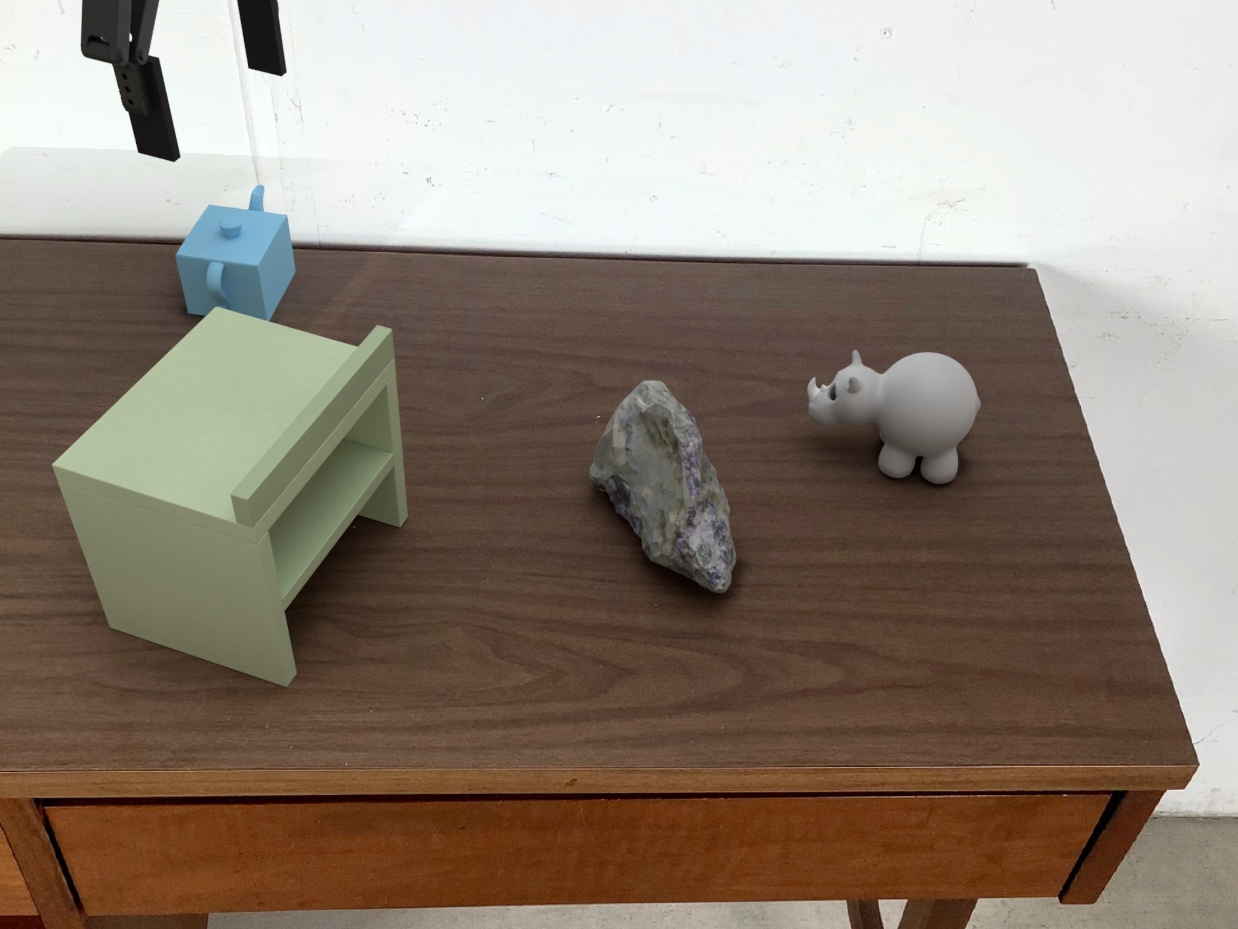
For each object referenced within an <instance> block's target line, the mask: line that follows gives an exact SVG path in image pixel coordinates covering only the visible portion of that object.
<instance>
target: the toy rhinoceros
mask: <svg viewBox="0 0 1238 929" xmlns="http://www.w3.org/2000/svg"><path fill="white" fill-rule="evenodd" d="M816 379H817V378H816V376H814V377H813V378H812V379H811V380H810V381H809V383H808V385H807V388H806V389H807V390H806V392H807V396H808V405H807V410H808V414H809V416H810V418H811V419H812V421H813V422H814V423H816V424H817V425H819V426H821V427H834V426H836V425H839V424H846V425H849V426H852V427H853V426H855V427H860V426H864V425H868V424H873V425H875V426H876V428H877V429H878V431H879V437H880V438H879V439H880V440H881V441H882V443H883V444H884V445H883V446H882V449H881V451H880V453H879V456H878V459H877V466H878V468H879V471H881V472H882V473H883V474H884V475H886V476H887V477H890V478H893V479H902V478H905V477H908V476H909V475H910V474H911V473H912V472H913V470H914V467H915V465H916V459H917V457H922V459H921V461H920V474H921V476H922V477H923V478H924V480H927V481H928V482H929V483H931V484H935V485H943V484H947V483H949V482H951V481H953V480H954V479H955V477H956V475H957V473H958V470H959V455H958V451H957V447H958V445H959V443H960V442H962V441H963V440H964V439H965V438H966V436H967V435H968V434H969V432H970V431H971V429H972V427H973V425H974V423H975V420H976V417H977V414H978V412H979V411H980V409H981V405H982V404H981V399H980V398H979V396H978V392H977V388H976V385H975V382H974V380H973V378H972V377H971V375H970V373H969V371H968V370H967V369H966V368H965V367H964V366H963V365H962V364H961V363H960V362H958V361H957V360H956V359H954V358H952V357H950V356H948V355H945V354H942V353H938V352H932V351H931V352H930V351H928V352H926V351H924V352H917V353H913V354H909V355H907V356H904V357H902V358H901V359H899V360H898V361H896V362H895V363H893V364H892V365H891V366H889V368H888V369H887V370H886V371H885V372H884V373H878V372H876V371H875V370H874V369H872V368H871V367H869V366H865V365H864V364H863V362H862V358H861V354H860V352H859V351H858V350H856V349H855V350H853V351H852V353H851V364H850V365H848V366H847V367H844V368H843V369H840V370H839V371H838V372H837V373H836V375H835V377H834V379H833V380H832V381H831V383H830V384H828V385H825V384H822V385H821V387H818V386H817V384H816Z"/></svg>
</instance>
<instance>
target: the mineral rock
mask: <svg viewBox="0 0 1238 929" xmlns="http://www.w3.org/2000/svg"><path fill="white" fill-rule="evenodd" d="M717 476H718V472H717V470H716V468H715V467H714V466H713V465H712V463H711V462H710V459H709V457H708V454H707V453H706V452H705V448H704V445H703V437H702V435H701V434H700V432H699V427H698V425H697V422H696V418H695V417H694V416H693V415H692V414H691V412H690V410H689V409H687V408H686V407H685V406H684V405H683V404H682V403H680V402H679V401H678V400H677V399H676V398H675V396H674V395H673V393H672V392H671V390H669V388H668V387H667V385H666V384H665V383H664V382H663V381H661V380H642V381H641V382H640V383H639V384H638V385H637V386H636V387H635V388H634V389H633V390H632V392H630V393H629V394H628V395H627V396H625V398H624V399H623V400H622V401H621V403H620V404H619V405H618V406H617V408H616V409H615V410H614V411H613V413H612V414H611V417H610V419H609V421H608V422H607V425H606V427H605V429H604V432H603V434H602V436H601V438H600V439H599V441H598V442H597V444H596V446H595V448H594V452H593V462H592V464H591V465H590V467H589V482H590V484H591V486H593V488H595V489H596V490H600V491H601V492H604V493H607V495H608V496H609V500H610V501H611V502H612V504H613V506H614V509H615V512H616V513H617V514H619V515H620V516H621V517H622V518H624V519H625V520H626V521H627V522H628V523H629V525H630V526H631V528H632V529H633V532H634V534H636V535H637V536H638V537H639V538H640V539H641V544H642V546H641V547H642V550H643V551H644V553H645V555H646V557H647V558H648V559H649V561H651V562H653V563H655V564H657V565H660V566H662V567H665V568H667V569H670V570H672V571H673V572H676V573H678V574H681V575H683V576H684V577H687V578H688V579H690V580H692V581H694V582H696V583H697V584H698V585H699V586H701V587H704V588H705V589H708V590H709V591H711V592H714V593H716V594H724V593H725V592H726V591H728V588H730V586H731V584H732V578H733V577H732V571H733V570H734V567H735V565H736V562H737V552H736V548H735V543H734V541H733V538H732V537H733V536H732V533H731V532H732V531H731V524H730V512H731V507H730V505H729V501H728V497H727V496H726V493H725V491H724V488H723V487H722V486H721V485H720V484H719V483H720V482H719V480H718V477H717Z"/></svg>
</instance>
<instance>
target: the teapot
mask: <svg viewBox="0 0 1238 929" xmlns="http://www.w3.org/2000/svg"><path fill="white" fill-rule="evenodd" d="M264 195H265V186H264V185H263V184H258V185H256V186H255V187H254V188H253V190H252V191H251V194H250V199H249V202H248V203H249V204H248V208H247V209H246V208H239V207H231V206H223V205H217V204H216V205H215V204H208V205H207V206H206V208H205V209H204V211H203V212H202V214H201V215H200V217H199V218H198V220H197V221H196V223H195V224H194V226H193V227H192V229H191V230H190V231H189V233H188V235H187V236H186V237H185V239H184V241H182V244H181V245H180V247H179V249H178V250H177V252H176V253H175V256H174V257H175V261H176V266H177V270H178V274H179V275H178V276H179V279H180V284H181V288H182V292H183V297H184V301H185V305H186V309H187V310H186V311H187V314H192V315H198V316H204V317H206V316H207V315H208V314H209V313H210V312H211V311H212V310H213V309H214V308H215V307H220V308H223V309H227V310H230V311H234V312H237V313H241V314H244V315H248V316H251V317H255V318H258V319H262V320H265V321H269V322H270V321H271V319H272V317H273V315H274V313H275V312H276V310H277V307H278V305H279V303H280V302H281V300H282V298H283V296H284V295H285V293H286V291H287V289H288V287H289V285H290V283H291V281H292V280H293V278H294V276H295V274H296V264H295V258H294V251H293V244H292V237H291V231H290V224H289V216H288V214H284V213H283V214H282V213H274V212H270V211H269V212H268V211H265V209H264Z"/></svg>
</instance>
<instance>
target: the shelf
mask: <svg viewBox="0 0 1238 929" xmlns="http://www.w3.org/2000/svg"><path fill="white" fill-rule="evenodd" d="M393 334H394V333H393V329H392V328H390V327H386V326H382V325H379V324H377V325H376V326H374V328H373V329H372V330H371V332H369V334H368V335H367V336H366V337H365V338H364V340H362V342H361V343H360V344H359V345H358V346H356V345H353V344H349V343H346V342H342V341H339V340H334V339H331V338H327V337H324V336H321V335H318V334H314V333H311V332H308V331H303V330H300V329H297V328H292V327H289V326H287V325H283V324H279V323H277V322H276V323H275V322H272V321H270V320H269V321H265V320H262V319H258V318H255V317H251V316H248V315H244V314H241V313H237V312H234V311H230V310H227V309H223V308H220V307H215V308H214V309H213V310H212V311H211V312H210V313H209V314H208V315H207V316H204V317H203V318H202V319H201V320H200V321H199V322H198V323H197V324H196V325H195V326H194V327H193V328H192V329H191V330H190V331H189V332H188V333H187V334H186V335H185V336H184V337H182V338H181V340H179V341H178V343H176V344H175V345H174V346H173V347H172V348H171V349H170V350H169V351H168V352H167V353H166V354H165V355H164V356H163V357H162V358H161V359H160V360H159V361H158V362H156V364H154V366H152V367H151V369H149V370H148V372H146V373H145V374H144V375H143V376H142V377H141V378H140V379H139V380H138V381H137V382H136V383H135V384H133V385H132V386H131V387H130V389H128V390H127V392H126V393H125V394H123V395H122V396H121V397H120V398H119V399H118V400H117V401H116V402H115V403H114V404H113V405H112V406H111V407H110V408H109V409H108V410H107V411H106V412H105V413H104V414H103V415H101V416H100V417H99V418H98V419H97V420H96V422H94V423H93V424H92V425H91V426H90V427H89V428H88V429H87V430H86V431H85V432H84V433H83V434H82V435H81V436H80V437H79V438H77V439H76V441H75V442H74V443H72V444H71V445H70V446H69V447H68V448H67V449H66V450H65V451H64V452H63V453H62V454H61V455H60V456H59V457H58V458H57V459H56V460H55V461H54V462H53V463H52V464H51V466H52V469H53V472H54V475H55V478H56V481H57V484H58V486H59V490H60V492H61V495H62V497H63V501H64V504H65V506H66V509H67V512H68V514H69V517H70V520H71V523H72V526H73V528H74V532H75V534H76V536H77V537H76V538H77V540H78V542H79V545H80V548H81V551H82V553H83V556H84V559H85V562H86V564H87V567H88V570H89V573H90V576H91V579H92V580H93V582H92V583H93V584H94V587H95V590H96V593H97V595H98V598H99V601H100V604H101V607H102V609H103V612H104V614H105V618H106V621H107V623H108V626H109V628H110V629H113V630H115V631H119V632H122V633H124V634H127V635H131V636H133V637H136V638H139V639H142V640H145V641H149V642H152V643H153V644H157V645H160V646H163V647H166V648H169V649H172V650H175V651H177V652H181V653H184V654H187V655H188V656H189V655H190V656H193V657H196V658H198V659H202V660H204V661H207V662H210V663H212V664H213V663H214V664H216V665H218V666H221V667H224V668H228V669H231V670H235V671H237V672H240V673H243V674H246V675H249V676H251V677H254V678H258V679H260V680H264V681H267V682H269V683H273V684H276V685H279V686H281V687H284V688H288V687H289V685H290V684H291V683H292V681H293V680H294V679H295V677H296V676H297V674H298V673H297V672H298V671H297V667H296V661H295V657H294V652H293V647H292V641H291V638H290V632H289V628H288V627H289V626H288V622H287V617H286V613H285V612H286V610H287V609H288V607H289V606H290V605H291V603H292V602H293V601H294V599H295V598H296V597H297V595H298V594H299V593H300V592H301V591H302V589H303V587H305V585H306V584H307V582H308V581H309V579H310V578H311V577H312V576H313V574H315V571H317V568H318V567H319V566H320V565H321V564H322V562H323V561H324V560H325V558H326V557H327V556H328V555H329V553H330V551H331V550H332V549H333V548H334V546H335V545H336V543H338V541H339V539H340V538H342V536H343V534H344V533H345V531H346V530H347V529H348V528H349V527H350V525H351V523H353V521H354V519H355V518H356V517H357V516H361V517H364V518H368V519H370V520H374V521H377V522H380V523H384V524H387V525H390V526H394V527H396V528H402V526H403V525H404V523H405V522H406V521H407V519H408V518H409V513H408V512H409V511H408V501H407V488H406V477H405V468H404V466H405V464H404V454H403V442H402V431H401V430H402V429H401V418H400V407H399V405H400V404H399V397H398V394H399V392H398V381H397V374H396V373H397V372H396V370H397V369H396V359H395V346H394V335H393Z"/></svg>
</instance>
